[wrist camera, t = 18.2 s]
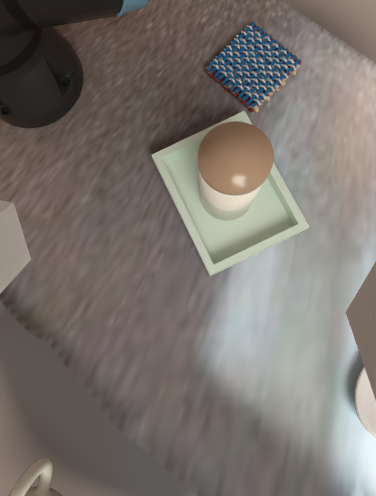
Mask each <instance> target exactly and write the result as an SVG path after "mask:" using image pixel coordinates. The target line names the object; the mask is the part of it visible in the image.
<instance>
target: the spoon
mask: <svg viewBox="0 0 376 496" xmlns="http://www.w3.org/2000/svg"><path fill="white" fill-rule="evenodd" d="M355 407H356V411H357V415H358V417H359V419H360V421H361V423H362V425H363V426H364V427H365V428H366V430H367V431H368V432H369V433H371V434H372V435H373V436H375V437H376V400H375V397H374V394H373V391H372V388H371V385H370V382H369V379H368V376H367V373H366V370H365V367H363V368H362V370H361V372H360V374H359V376H358V379H357V382H356V387H355Z"/></svg>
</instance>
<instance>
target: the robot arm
mask: <svg viewBox="0 0 376 496" xmlns="http://www.w3.org/2000/svg"><path fill="white" fill-rule="evenodd" d="M148 2H149V0H0V118H1V119H2V120H4V121H5V122H7V123H9V124H11V125H14V126H17V127H22V128H36V127H42V126H45V125H48V124H51V123H53V122H55V121H57V120H58V119H60V118H61V117H63V116H64V115H65V114H66V113H67V112H68V111H69V110H70V109H71V108H72V107H73V105H74V104H75V103H76V101H77V99H78V97H79V95H80V92H81V89H82V85H83V71H82V66H81V63H80V61H79V59H78V57H77V55H76V53H75V51H74V50H73V48H72V46H71V45H70V44H69V42H68V41H67V40H66V39H65V38H64V37H63V36H62V35H61V34H60V33H59V32H58V31H56V30H55V29H54V28H53V27H52V26H57V25H63V24H69V23H76V22H82V21H88V20H94V19H101V18H107V17H113V16H116V17H119V16H121V15H123V14H124V13H126V12H130V11H134V10H138V9H141V8H143V7H145V6H146V5H147V3H148ZM30 260H31V258H30V255H29V251H28V248H27V245H26V242H25V238H24V235H23V232H22V229H21V225H20V222H19V219H18V215H17V212H16V209H15V206H14V203H13V202H6V201H0V293H1V292H2V291H3V290H4V289H5V288H6V287H7V286H8V284H9V283H10V282H11V281H12V280H13V279H14V278H15V277H16V276H17V274H18V273H19V272H20V271H21V270H22V269H23V268H24V267H25V266H26V265H27V263H28V262H29V261H30ZM346 314H347V317H348V320H349V323H350V326H351V329H352V332H353V335H354V338H355V341H356V344H357V347H358V350H359V352H360V355H361V358H362V361H363V364H364V367H365V370H366V373H367V376H368V379H369V382H370V385H371V388H372V391H373V394H374V397H375V400H376V262H375V264H374V266H373V267H372V269H371V271H370V272H369V274H368V276H367V277H366V279H365V281H364V283H363V284H362V286H361V288H360V289H359V291H358V293H357V294H356V296H355V298H354V299H353V301H352V303H351V304H350V306H349V308H348V309H347V311H346Z"/></svg>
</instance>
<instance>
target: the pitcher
mask: <svg viewBox="0 0 376 496" xmlns="http://www.w3.org/2000/svg"><path fill="white" fill-rule="evenodd" d="M52 473H53V465H52V462H51V460H50V459H48V458H41V459H38V460H37V461H35V462H34V463H33V464H32V465H31V466H30V467H29V468H28V469H27V470H26V472H25V473H24V474H23V475H22V476H21V478H20V479H19V480H18V482H17V483H16V485H15V487H14V488H13V489H12V491H11V493H10V495H9V496H62V495H61V494H60V493H59V492H57V491H56V490H54V489H51V488H50V485H51V479H52ZM39 475H40V478H39V484H38V487H30V486H31V485H32V483H33V482H34V481H35V479H36V478H37V477H38V476H39Z"/></svg>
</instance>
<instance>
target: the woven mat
mask: <svg viewBox="0 0 376 496" xmlns="http://www.w3.org/2000/svg"><path fill="white" fill-rule="evenodd" d="M246 27H247V28H245V31H242V32H241V33H242V34H240V35H236V37H237V39H236V38H234V41H233V42H231V45H227V46H226V47H227V48H224V52H220V53H222V54H220V55H218V56H216V59H213V60H214V61H212V62H210V65H209V66H207V67H206V73H209V74H211V75H210V76H209V77H211V78H212V77H214V80H215V81H216V80H218V83H221V84H222V86H223V87H224V86H225V87H226V89H225V90H226V91H229V90H230V93H231V94H232V93H233V94H234V95H233V96H234V97H237V98H238V100H239V101H240V100H241V101H242V104H244V103H245V104H246V107H247V108H248V107H249V108H251V109H250V112H253V111H255V112H258V111H259V108H258V105H259V106H260V105H262V104H263V103H262V102H263V101H264V100H265V101H269V100H270V96H268V95H272V94H273V92H274V91H275V90H276V91H277V92H278V91H279V90H280V88H279V86H278V85H280V84H281V85H282V86H284V85H286V82H285V80H287V79H288V78H289V77H288V75H289V74H291V75H295V74H296V70H298V69H299V68H300V65H299V64H300V63H301V60H297V58H296V57H297V56H296V55H294V56H293V55H292V53H291V52H290V53H288V52H289V51H288V49H285V50H284V47H283V46H281V47H280V43H279V42H277V44H276V40H274V39H273V40H272V36H270V35H269V37H267V33H264V31H263V29H262V28H261V29H259V28H260V27H258V26H257V27H256V25H255V22H253V23H252V24H251V25H250V26H249V25H248V26H247V25H246ZM265 46H267V47H265ZM259 52H260V53H259ZM282 52H283V53H282ZM287 53H288V54H287ZM236 60H237V61H236ZM296 60H297V61H296ZM295 61H296V62H295ZM285 64H286V65H285ZM290 66H291V67H290ZM236 67H237V68H236ZM281 67H282V68H281ZM289 67H290V68H289ZM284 71H286V73H284ZM216 72H217V73H216ZM266 74H267V75H266ZM280 75H281V76H280ZM270 78H271V79H270ZM224 79H225V80H224ZM229 81H230V82H229ZM274 81H276V82H275V83H274ZM256 84H257V85H256ZM237 88H238V89H237ZM260 88H261V89H260ZM274 89H275V90H274ZM272 91H273V92H272ZM240 92H242V93H241V94H239V93H240ZM264 92H265V93H264ZM263 93H264V94H263ZM245 95H246V96H245ZM259 96H260V97H259ZM249 99H250V100H249ZM248 100H249V101H248ZM254 101H255V103H253V102H254Z"/></svg>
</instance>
